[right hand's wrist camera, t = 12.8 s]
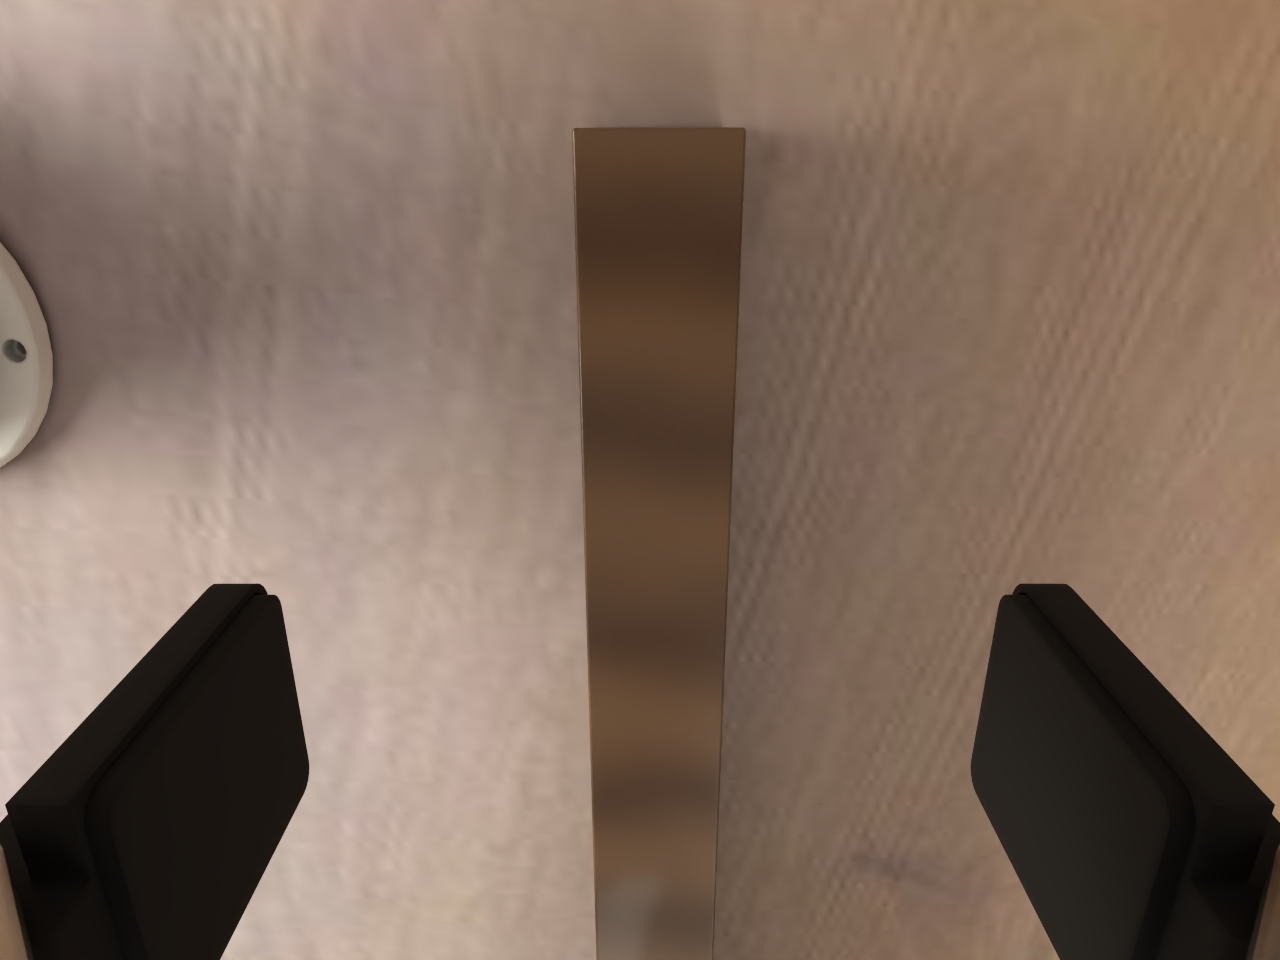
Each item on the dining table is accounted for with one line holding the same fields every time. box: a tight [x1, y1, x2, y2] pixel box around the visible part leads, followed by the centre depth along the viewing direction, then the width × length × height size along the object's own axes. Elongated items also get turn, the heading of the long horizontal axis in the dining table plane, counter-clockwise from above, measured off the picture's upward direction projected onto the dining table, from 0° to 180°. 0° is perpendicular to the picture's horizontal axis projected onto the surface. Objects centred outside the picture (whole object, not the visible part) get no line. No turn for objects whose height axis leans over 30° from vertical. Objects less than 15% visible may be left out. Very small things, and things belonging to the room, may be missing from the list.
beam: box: [572, 127, 746, 960], centre depth 37 cm, size 55×5×8 cm, turn 0°
